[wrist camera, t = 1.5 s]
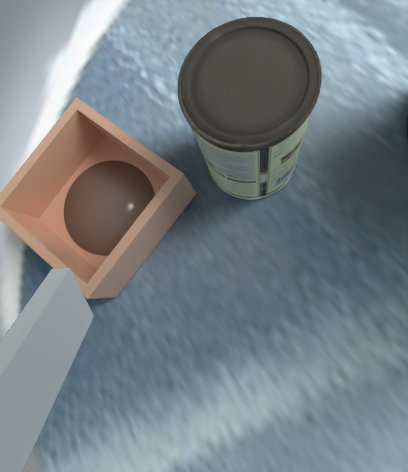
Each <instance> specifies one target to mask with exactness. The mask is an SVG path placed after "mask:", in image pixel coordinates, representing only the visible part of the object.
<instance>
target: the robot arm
mask: <svg viewBox="0 0 408 472" xmlns="http://www.w3.org/2000/svg"><path fill="white" fill-rule="evenodd" d="M407 135H408V118H407ZM93 317H94V315H93V313H92V311H91V309H90V307H89V305H88V303H87V301H86V299H85V297H84V295H83V293H82V291H81V289H80V287H79V285H78V283H77V281H76V279H75V277H74V275H73V273H72V271H71V269H70V268H59V269H51V271H50V272H49V273H48V275H47V276H46V278H45V279H44V281H43V282H42V283H41V285H40V286H39V288H38V289H37V291H36V292H35V293H34V295H33V296H32V298H31V299H30V300H29V302H28V303H27V305H26V306H25V308H24V309H23V310H22V312H21V313H20V315H19V316H18V318H17V319H16V320H15V322H14V323H13V325H12V326H11V327H10V329H9V330H8V332H7V333H6V335H5V336H4V337H3V339H2V340H1V342H0V472H23V470H24V468H25V465H26V463H27V461H28V459H29V457H30V454H31V452H32V450H33V448H34V446H35V444H36V441H37V439H38V437H39V435H40V433H41V430H42V428H43V426H44V424H45V422H46V420H47V417H48V415H49V413H50V411H51V409H52V406H53V404H54V402H55V400H56V398H57V396H58V393H59V391H60V389H61V387H62V385H63V383H64V380H65V378H66V376H67V374H68V372H69V369H70V367H71V365H72V363H73V361H74V359H75V356H76V354H77V352H78V350H79V348H80V345H81V343H82V341H83V339H84V337H85V335H86V332H87V330H88V328H89V326H90V324H91V321H92V319H93Z"/></svg>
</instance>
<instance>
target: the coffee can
mask: <svg viewBox="0 0 408 472" xmlns="http://www.w3.org/2000/svg"><path fill="white" fill-rule="evenodd" d="M321 76H322V73H321V65H320V61H319V57H318V55H317V52H316V51H315V49H314V47H313V46H312V44H311V43H310V41H309V40H308V39H307V38H306V37H305V36H304V35H303V34H302V33H301V32H300V31H298V30H297V29H296V28H294V27H293V26H291V25H289V24H287V23H285V22H282V21H279V20H275V19H271V18H264V17H247V18H241V19H236V20H233V21H230V22H227V23H225V24H223V25H220V26H218V27H216V28H214V29H213V30H211V31H210V32H208V33H207V34H206V35H205V36H204V37H202V38H201V39H200V40H199V41H198V42H197V43H196V44H195V45H194V46H193V48H192V49H191V50H190V52H189V53H188V55H187V56H186V58H185V60H184V62H183V65H182V67H181V70H180V74H179V79H178V99H179V103H180V107H181V110H182V112H183V114H184V116H185V118H186V120H187V121H188V123H189V125H190V126H191V129H192V131H193V133H194V136H195V138H196V140H197V142H198V145H199V147H200V149H201V152H202V154H203V156H204V159H205V161H206V163H207V166H208V168H209V172H210V174H211V177H212V179H213V180H214V182H215V183H216V184H217V186H218V187H219V188H220V189H222V190H223V191H224V192H226V193H227V194H229V195H231V196H233V197H236V198H239V199H246V200H256V199H262V198H265V197H268V196H270V195H272V194H275V193H276V192H277V191H279V190H280V189H281V188H283V187H284V186H285V185H286V184H287V182H288V181H289V180H290V178H291V177H292V175H293V173H294V171H295V168H296V165H297V159H298V156H299V152H300V149H301V145H302V142H303V139H304V135H305V132H306V128H307V125H308V122H309V118H310V115H311V112H312V110H313V108H314V106H315V104H316V101H317V99H318V96H319V92H320V87H321Z"/></svg>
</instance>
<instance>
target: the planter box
mask: <svg viewBox="0 0 408 472" xmlns="http://www.w3.org/2000/svg"><path fill="white" fill-rule="evenodd" d="M196 194H197V193H196V192H195V190H194V188H193V187H192V185H191V184H190V182H189V181H188V179H187V178H186V176H185V174H184V173H182V172H181V171H179V170H178V169H177V168H175V167H174V166H172V165H171V164H170V163H168V162H167V161H165V160H164V159H163V158H161V157H160V156H158V155H157V154H155V153H154V152H153V151H151V150H150V149H148V148H147V147H146V146H144V145H143V144H141V143H140V142H139V141H137V140H136V139H134V138H133V137H132V136H130V135H129V134H127V133H126V132H125V131H123V130H122V129H120V128H119V127H118V126H116V125H115V124H113V123H112V122H111V121H109V120H108V119H106V118H105V117H103V116H102V115H101V114H99V113H98V112H96V111H95V110H94V109H92V108H91V107H89V106H88V105H87V104H85V103H84V102H82V101H81V100H80V99H78V98H77V97H76V98H75V100H74V101H73V102H72V104H71V105H70V106H69V107H68V109H67V110H66V111H65V112H64V114H63V115H62V116H61V117H60V119H59V120H58V121H57V123H56V124H55V125H54V126H53V128H52V129H51V130H50V131H49V133H48V134H47V135H46V136H45V138H44V139H43V140H42V141H41V143H40V144H39V145H38V147H37V148H36V149H35V150H34V152H33V153H32V154H31V155H30V157H29V158H28V159H27V160H26V162H25V163H24V164H23V166H22V167H21V168H20V169H19V171H18V172H17V173H16V174H15V176H14V177H13V178H12V179H11V181H10V182H9V183H8V184H7V186H6V187H5V188H4V190H3V191H2V192H1V193H0V220H1V221H2V222H3V223H4V224H5V225H6V226H8V227H9V228H10V229H11V230H12V231H13V232H14V233H15V234H16V235H17V236H19V237H20V238H21V239H22V240H23V241H24V242H25V243H26V244H27V245H28V246H30V247H31V248H32V249H33V250H34V251H35V252H36V253H37V254H38V255H39V256H41V257H42V258H43V259H44V260H45V261H46V262H47V263H48V264H49V265H50V266H52V267H53V268H54V269H59V268H70V269H71V271H72V273H73V275H74V277H75V279H76V281H77V283H78V285H79V287H80V289H81V291H82V293H83V295H84V296H85V297H86V298H87V299H97V298H112V297H117V296H118V295H119V294H120V293H121V291H122V290H123V289H124V287H125V286H126V285H127V283H128V282H129V281H130V280H131V278H132V277H133V276H134V274H135V273H136V272H137V270H138V269H139V268H140V267H141V265H142V264H143V263H144V261H145V260H146V259H147V257H148V256H149V255H150V254H151V252H152V251H153V250H154V248H155V247H156V246H157V244H158V243H159V242H160V241H161V239H162V238H163V237H164V235H165V234H166V233H167V231H168V230H169V229H170V228H171V226H172V225H173V224H174V222H175V221H176V220H177V218H178V217H179V216H180V215H181V213H182V212H183V211H184V209H185V208H186V207H187V205H188V204H189V203H190V202H191V200H192V199H193V198H194V196H195V195H196Z"/></svg>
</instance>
